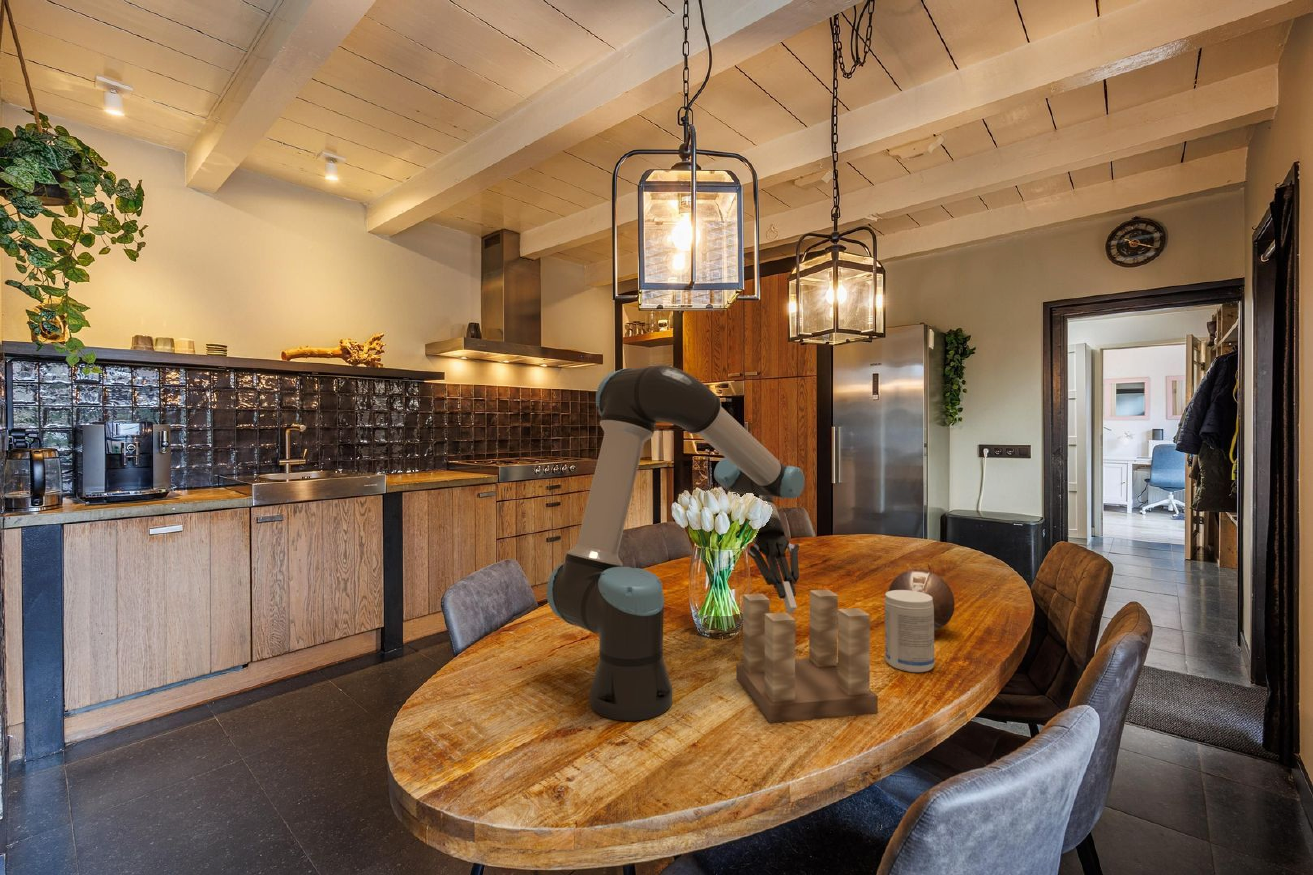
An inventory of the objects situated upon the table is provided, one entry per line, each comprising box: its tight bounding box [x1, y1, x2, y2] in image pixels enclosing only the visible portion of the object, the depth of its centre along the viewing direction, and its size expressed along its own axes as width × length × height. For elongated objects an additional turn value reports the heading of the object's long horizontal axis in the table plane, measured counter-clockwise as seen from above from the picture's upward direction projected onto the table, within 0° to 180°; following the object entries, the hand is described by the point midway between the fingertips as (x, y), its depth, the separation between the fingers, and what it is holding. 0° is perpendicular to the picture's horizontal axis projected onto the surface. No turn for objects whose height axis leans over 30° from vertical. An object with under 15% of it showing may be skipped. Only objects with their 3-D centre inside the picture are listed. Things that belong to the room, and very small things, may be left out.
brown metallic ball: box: [887, 568, 956, 632], centre depth 144 cm, size 15×15×15 cm
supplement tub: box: [884, 590, 935, 673], centre depth 123 cm, size 10×10×15 cm
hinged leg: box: [808, 589, 839, 667], centre depth 117 cm, size 4×4×14 cm
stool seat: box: [735, 593, 879, 724], centre depth 109 cm, size 20×18×17 cm
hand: (792, 610), depth 131 cm, fingers closed
